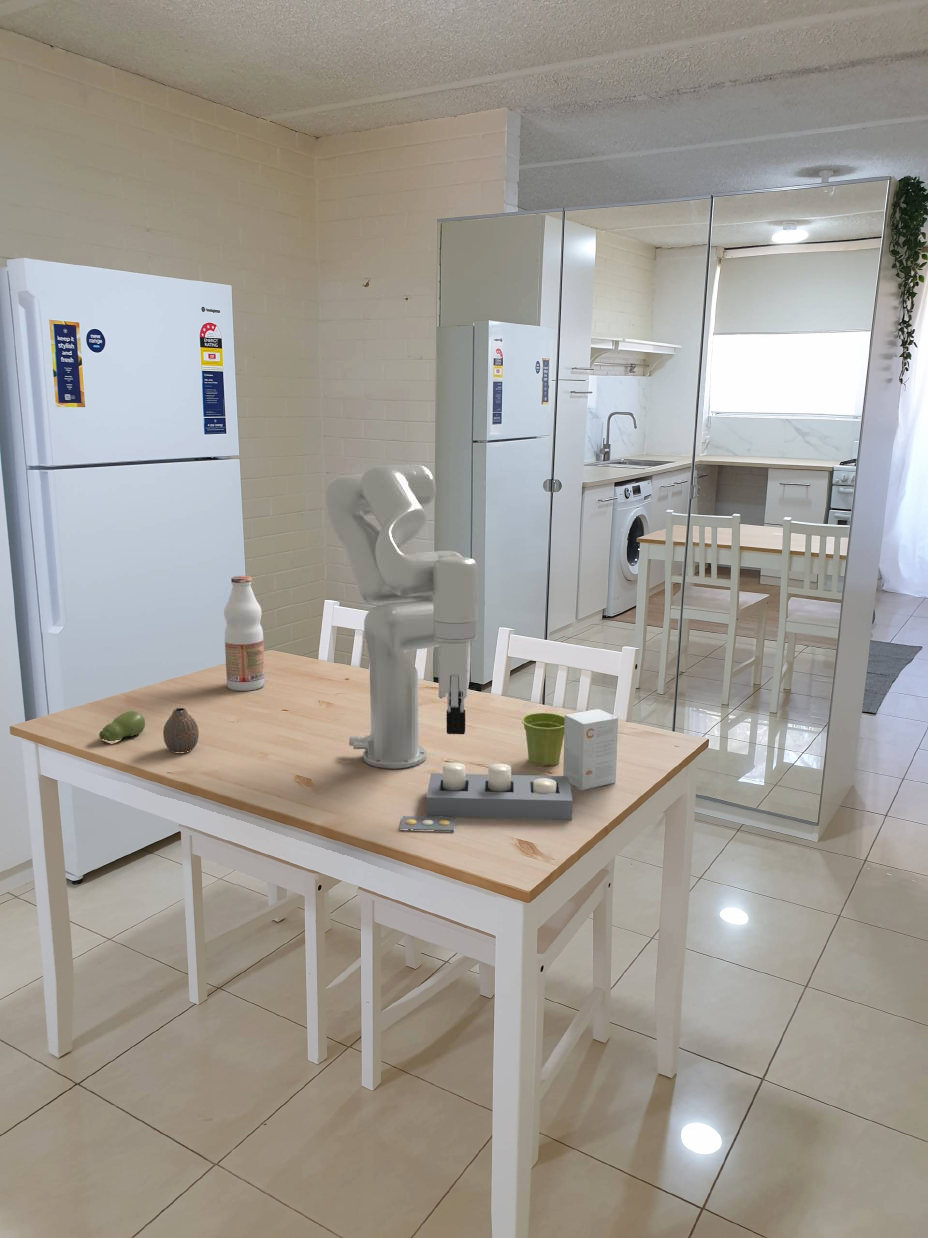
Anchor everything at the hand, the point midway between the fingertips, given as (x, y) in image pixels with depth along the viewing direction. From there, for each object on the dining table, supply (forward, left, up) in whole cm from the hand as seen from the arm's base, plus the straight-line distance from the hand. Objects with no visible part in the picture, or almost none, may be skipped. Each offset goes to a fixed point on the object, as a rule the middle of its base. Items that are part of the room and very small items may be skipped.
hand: (456, 732), depth 164 cm
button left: (0, 0, -10) cm, 10 cm away
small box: (+25, +12, -14) cm, 31 cm away
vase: (-57, +24, -14) cm, 64 cm away
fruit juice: (-56, +70, -14) cm, 91 cm away
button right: (+16, 0, -13) cm, 20 cm away
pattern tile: (-4, -9, -14) cm, 17 cm away
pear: (-72, +31, -14) cm, 80 cm away
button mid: (+8, 0, -10) cm, 13 cm away
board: (+8, 0, -14) cm, 16 cm away
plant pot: (+17, +22, -14) cm, 31 cm away
